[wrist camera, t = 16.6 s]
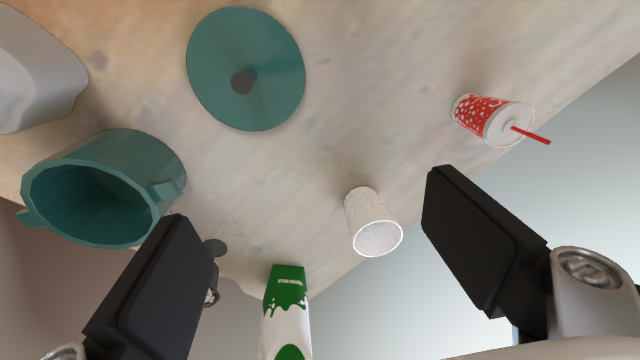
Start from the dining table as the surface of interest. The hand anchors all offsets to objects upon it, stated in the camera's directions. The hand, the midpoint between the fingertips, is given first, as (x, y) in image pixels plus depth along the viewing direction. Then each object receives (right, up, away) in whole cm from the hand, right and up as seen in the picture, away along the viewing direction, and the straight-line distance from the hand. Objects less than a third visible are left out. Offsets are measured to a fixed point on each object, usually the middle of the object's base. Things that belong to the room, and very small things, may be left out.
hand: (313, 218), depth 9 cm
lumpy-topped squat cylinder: (-35, +16, +18) cm, 42 cm away
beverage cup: (+23, +13, +28) cm, 38 cm away
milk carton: (-8, -20, +44) cm, 49 cm away
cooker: (-28, +3, +27) cm, 39 cm away
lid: (-9, +15, +21) cm, 27 cm away
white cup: (+8, -2, +35) cm, 36 cm away
